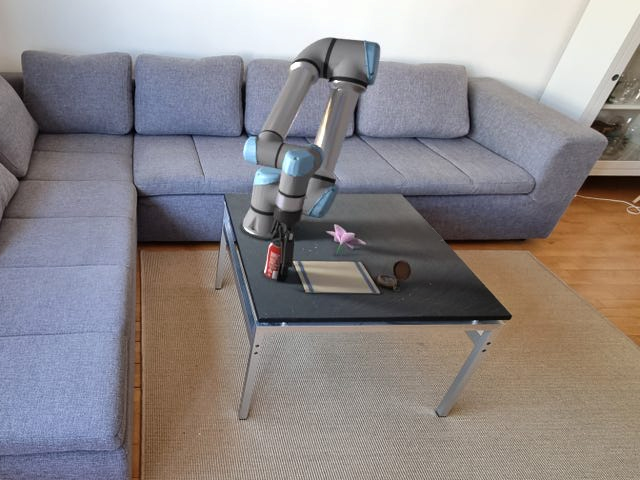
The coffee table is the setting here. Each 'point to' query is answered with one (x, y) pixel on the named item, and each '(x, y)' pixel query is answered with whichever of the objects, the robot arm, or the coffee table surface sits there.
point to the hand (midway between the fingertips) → (276, 269)
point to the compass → (395, 275)
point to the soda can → (273, 259)
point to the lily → (344, 237)
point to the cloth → (335, 277)
